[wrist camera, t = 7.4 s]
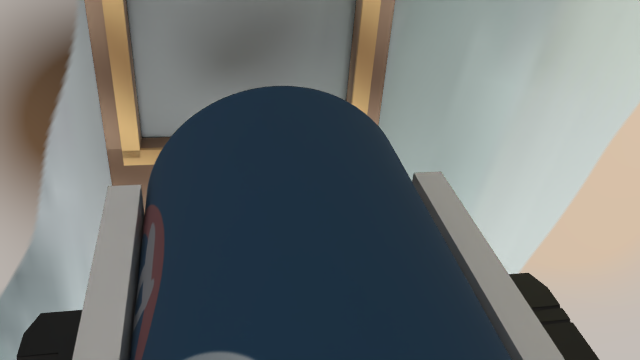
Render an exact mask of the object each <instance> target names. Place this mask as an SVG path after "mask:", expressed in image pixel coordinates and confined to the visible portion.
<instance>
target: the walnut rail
mask: <svg viewBox="0 0 640 360" xmlns="http://www.w3.org/2000/svg"><path fill="white" fill-rule="evenodd" d="M84 1H85V8H86V14H87V21H88V28H89V34H90V41H91V48H92V54H93V61H94V68H95V74H96V81H97V88H98V94H99V101H100V108H101V114H102V121H103V128H104V134H105V141H106V148H107V154H108V161H109V168H110V174H111V181H112V186H123V185H141V189H142V197H143V206H144V214H145V205H146V195H147V187H148V182H149V178H150V175H151V171H152V169H153V166H154V164H155V161H156V159H157V157H158V156H159V154H160V152H161V150H162V149H163V147H164V146H165V144H166V143H167V142H168V140H169V139H170V138H171V137H158V138H142V136H141V127H140V118H139V109H138V100H137V91H136V82H135V73H134V65H133V56H132V47H131V38H130V29H129V20H128V11H127V2H126V0H84ZM394 5H395V0H356V7H355V17H354V27H353V38H352V48H351V58H350V68H349V78H348V88H347V98H346V101H347V102H349V103H350V104H352V105H354V106H356V107H357V108H358V109H360V110H361V111H363V112H364V113H365V114H366V115H368V116H369V117H370V118H371V119H372V120H373V121H374V122H375V123H376V124H377V125H378V124H379V116H380V109H381V101H382V94H383V87H384V79H385V72H386V64H387V57H388V49H389V42H390V34H391V27H392V19H393V12H394Z"/></svg>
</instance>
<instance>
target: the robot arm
mask: <svg viewBox="0 0 640 360" xmlns="http://www.w3.org/2000/svg"><path fill="white" fill-rule="evenodd" d="M412 183H413V185H414V186H415V188H416V190H417V192H418V194H419V195H420V197H421V199H422V201H423V202H424V204H425V206H426V208H427V210H428V211H429V213H430V215H431V217H432V218H433V220H434V222H435V224H436V226H437V227H438V229H439V231H440V233H441V234H442V236H443V238H444V240H445V242H446V243H447V245H448V247H449V249H450V250H451V252H452V254H453V256H454V258H455V259H456V261H457V263H458V265H459V266H460V268H461V270H462V272H463V274H464V275H465V277H466V279H467V281H468V282H469V284H470V286H471V288H472V290H473V291H474V293H475V295H476V297H477V298H478V300H479V302H480V304H481V306H482V307H483V309H484V311H485V313H486V314H487V316H488V318H489V320H490V322H491V323H492V325H493V327H494V329H495V330H496V332H497V334H498V336H499V338H500V339H501V341H502V343H503V345H504V346H505V348H506V350H507V352H508V354H509V355H510V357H511V359H512V360H599V359H598V357H597V356H596V354H595V353H594V352H593V350H592V349H591V347H590V346H589V345H588V343H587V342H586V340H585V339H584V338H583V336H582V335H581V333H580V332H579V331H578V329H577V328H576V327H575V325H574V324H573V323H571V322H570V318H569V317H568V316H567V314H566V313H565V311H564V310H563V309H562V308H560V304H559V303H558V301H557V300H556V299H555V297H554V296H553V295H552V293H551V292H550V290H549V289H548V288H547V287H546V286H545V285H544V284H542V283H541V282H540V281H538V280H537V279H536V278H534V277H533V276H532V275H531V274H529V273H520V274H508V273H507V271H506V270H505V268H504V267H503V265H502V263H501V262H500V260H499V259H498V257H497V256H496V254H495V253H494V251H493V250H492V248H491V247H490V245H489V244H488V242H487V241H486V239H485V238H484V236H483V235H482V233H481V232H480V230H479V229H478V227H477V225H476V224H475V222H474V221H473V219H472V218H471V216H470V215H469V213H468V212H467V210H466V209H465V207H464V206H463V204H462V203H461V201H460V200H459V198H458V197H457V195H456V194H455V192H454V190H453V189H452V187H451V186H450V184H449V183H448V181H447V180H446V178H445V177H444V175H443V174H442V172H420V173H414V175H413V181H412ZM144 215H145V214H144V206H143V197H142V189H141V185H123V186H108V189H107V194H106V199H105V204H104V209H103V213H102V218H101V223H100V228H99V233H98V238H97V242H96V247H95V252H94V257H93V262H92V267H91V271H90V276H89V281H88V286H87V291H86V295H85V300H84V305H83V310H76V311H64V312H51V313H41V314H40V315H39V316H38V317H37V318H36V320H35V321H34V322H33V323H32V324H31V326H30V327H29V328H28V329H27V330H26V332H25V333H24V334H23V338H22V341H21V344H20V347H19V351H18V354H17V360H129V359H130V350H131V340H132V330H133V321H134V311H135V301H136V292H137V282H138V273H139V263H140V253H141V244H142V234H143V224H144Z"/></svg>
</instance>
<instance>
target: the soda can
mask: <svg viewBox="0 0 640 360" xmlns="http://www.w3.org/2000/svg"><path fill="white" fill-rule="evenodd" d="M129 360H512V359H511V357H510V355H509V354H508V352H507V350H506V348H505V346H504V345H503V343H502V341H501V339H500V338H499V336H498V334H497V332H496V330H495V329H494V327H493V325H492V323H491V322H490V320H489V318H488V316H487V314H486V313H485V311H484V309H483V307H482V306H481V304H480V302H479V300H478V298H477V297H476V295H475V293H474V291H473V290H472V288H471V286H470V284H469V282H468V281H467V279H466V277H465V275H464V274H463V272H462V270H461V268H460V266H459V265H458V263H457V261H456V259H455V258H454V256H453V254H452V252H451V250H450V249H449V247H448V245H447V243H446V242H445V240H444V238H443V236H442V234H441V233H440V231H439V229H438V227H437V226H436V224H435V222H434V220H433V218H432V217H431V215H430V213H429V211H428V210H427V208H426V206H425V204H424V202H423V201H422V199H421V197H420V195H419V194H418V192H417V190H416V188H415V186H414V185H413V183H412V181H411V179H410V178H409V176H408V174H407V172H406V170H405V169H404V167H403V165H402V163H401V162H400V160H399V158H398V156H397V154H396V153H395V151H394V149H393V147H392V146H391V144H390V142H389V140H388V139H387V137H386V136H385V134H384V133H383V131H382V130H381V129H380V128H379V126H378V125H377V124H376V123H375V122H374V121H373V120H372V119H371V118H370V117H369V116H368V115H366V114H365V113H364V112H363V111H361V110H360V109H358V108H357V107H356V106H354V105H352V104H350V103H349V102H347V101H345V100H343V99H341V98H339V97H336V96H334V95H331V94H329V93H325V92H322V91H319V90H314V89H309V88H303V87H294V86H271V87H262V88H255V89H251V90H246V91H242V92H239V93H236V94H233V95H230V96H228V97H225V98H223V99H221V100H218V101H216V102H214V103H212V104H211V105H209V106H207V107H205V108H204V109H202V110H201V111H199V112H198V113H196V114H195V115H193V116H192V117H191V118H190V119H189V120H187V121H186V122H185V123H184V124H183V125H182V126H181V127H180V128H179V129H178V130H177V131H176V132H175V133H174V134H173V135H172V136H171V138H170V139H169V140H168V142H167V143H166V144H165V146H164V147H163V149H162V150H161V152H160V154H159V156H158V157H157V159H156V161H155V164H154V166H153V169H152V171H151V175H150V178H149V182H148V187H147V195H146V205H145V215H144V224H143V234H142V244H141V253H140V263H139V273H138V282H137V292H136V301H135V311H134V321H133V330H132V340H131V350H130V359H129Z"/></svg>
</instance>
